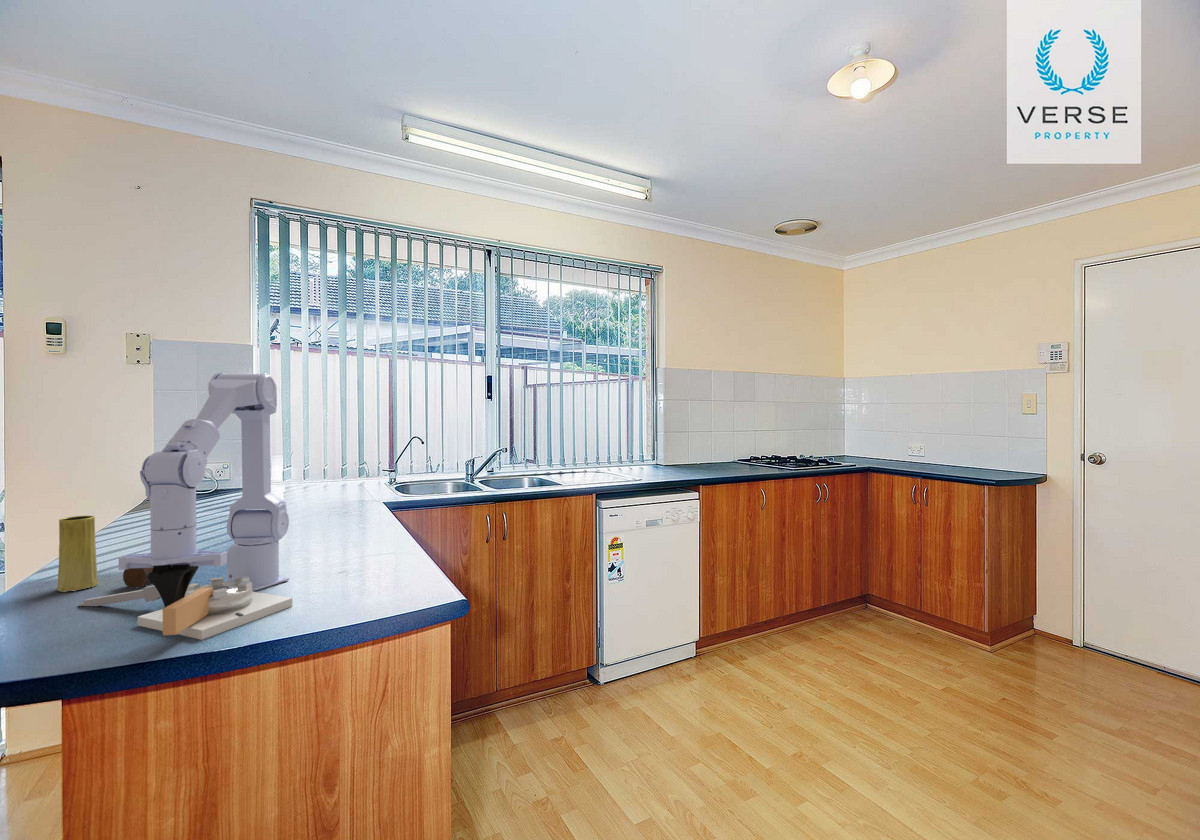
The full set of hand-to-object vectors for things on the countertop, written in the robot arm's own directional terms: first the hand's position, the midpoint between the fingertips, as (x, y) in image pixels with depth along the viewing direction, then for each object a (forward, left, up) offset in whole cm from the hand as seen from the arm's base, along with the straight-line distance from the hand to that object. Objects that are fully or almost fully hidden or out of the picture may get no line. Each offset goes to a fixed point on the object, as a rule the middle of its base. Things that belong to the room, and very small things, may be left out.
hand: (174, 612), depth 86 cm
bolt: (-36, +20, -4) cm, 41 cm away
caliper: (-22, +6, -4) cm, 23 cm away
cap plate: (-3, +9, -4) cm, 10 cm away
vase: (-45, +9, -4) cm, 46 cm away
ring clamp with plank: (-1, +5, -2) cm, 5 cm away
